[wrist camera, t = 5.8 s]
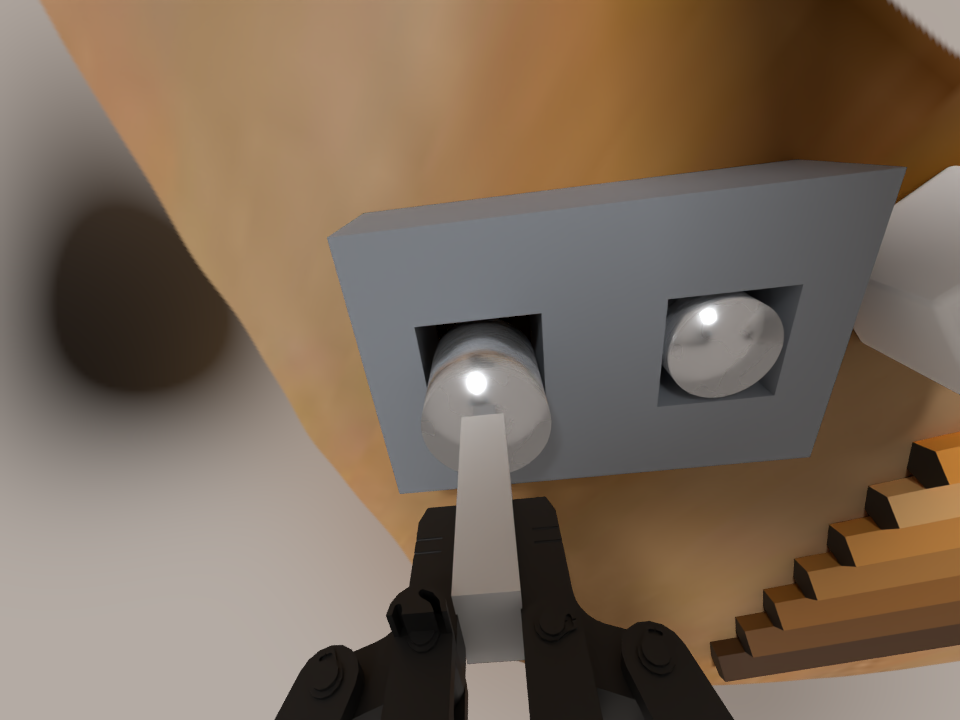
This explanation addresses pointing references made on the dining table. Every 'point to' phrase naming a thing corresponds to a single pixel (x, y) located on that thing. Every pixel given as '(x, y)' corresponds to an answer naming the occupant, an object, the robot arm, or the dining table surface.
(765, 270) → the peg block
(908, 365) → the medicine bottle
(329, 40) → the dining table surface
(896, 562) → the pan flute
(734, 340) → the steel peg
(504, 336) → the steel peg
